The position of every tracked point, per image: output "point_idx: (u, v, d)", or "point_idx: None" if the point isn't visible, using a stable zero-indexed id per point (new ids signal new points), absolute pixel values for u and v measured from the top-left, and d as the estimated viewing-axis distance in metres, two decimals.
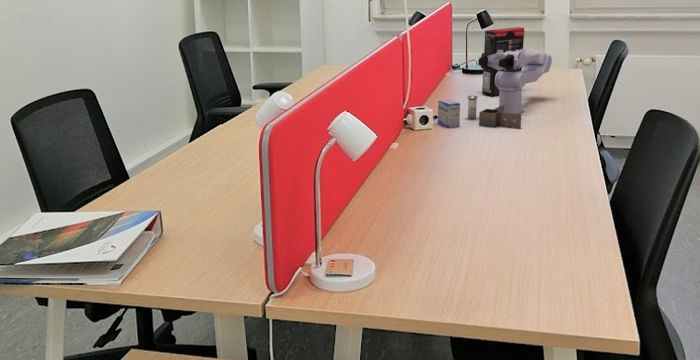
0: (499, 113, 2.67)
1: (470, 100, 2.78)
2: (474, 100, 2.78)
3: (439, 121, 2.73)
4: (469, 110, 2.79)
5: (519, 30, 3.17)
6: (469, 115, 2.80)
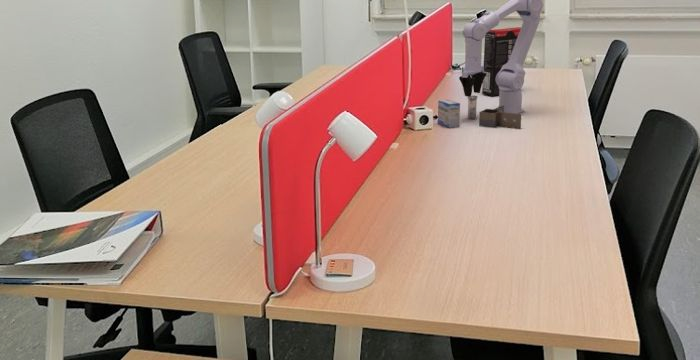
0: (499, 113, 2.67)
1: (470, 100, 2.78)
2: (474, 100, 2.78)
3: (439, 121, 2.73)
4: (469, 110, 2.79)
5: (519, 30, 3.17)
6: (469, 115, 2.80)
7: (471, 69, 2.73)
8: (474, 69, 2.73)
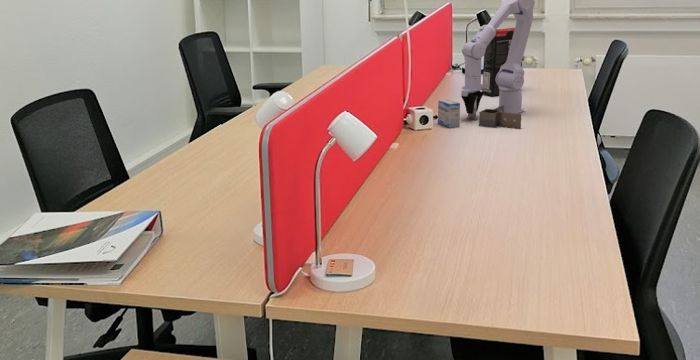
0: (499, 113, 2.67)
1: None
2: None
3: (439, 121, 2.73)
4: None
5: None
6: (469, 115, 2.80)
7: (471, 88, 2.75)
8: (474, 88, 2.75)
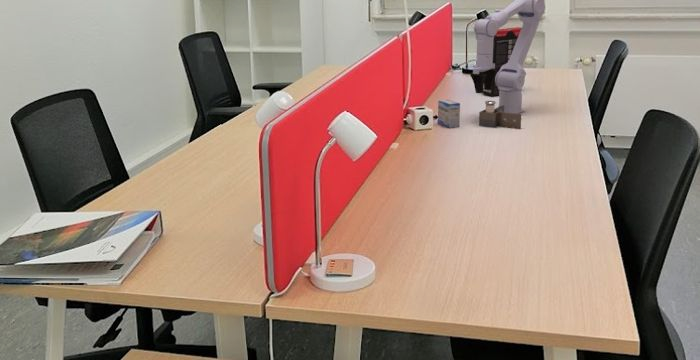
0: (499, 113, 2.67)
1: (488, 106, 2.68)
2: (492, 106, 2.68)
3: (439, 121, 2.73)
4: None
5: (519, 30, 3.17)
6: None
7: (482, 66, 2.71)
8: (485, 66, 2.71)
